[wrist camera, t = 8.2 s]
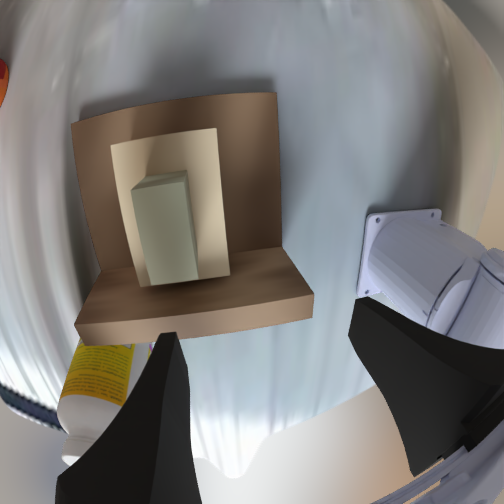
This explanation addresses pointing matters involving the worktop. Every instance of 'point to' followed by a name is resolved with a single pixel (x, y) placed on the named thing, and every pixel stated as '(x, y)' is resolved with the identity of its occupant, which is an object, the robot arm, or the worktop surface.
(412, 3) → the worktop surface
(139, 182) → the saddle block
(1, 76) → the coffee cup
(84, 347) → the supplement bottle
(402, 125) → the worktop surface
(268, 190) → the cleat board
